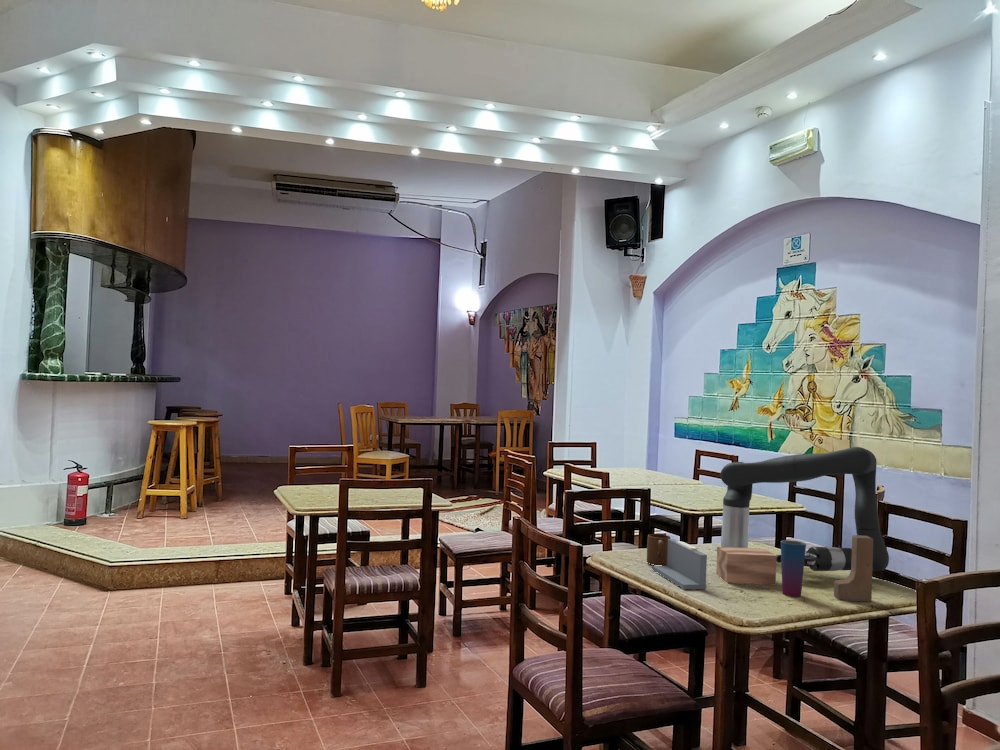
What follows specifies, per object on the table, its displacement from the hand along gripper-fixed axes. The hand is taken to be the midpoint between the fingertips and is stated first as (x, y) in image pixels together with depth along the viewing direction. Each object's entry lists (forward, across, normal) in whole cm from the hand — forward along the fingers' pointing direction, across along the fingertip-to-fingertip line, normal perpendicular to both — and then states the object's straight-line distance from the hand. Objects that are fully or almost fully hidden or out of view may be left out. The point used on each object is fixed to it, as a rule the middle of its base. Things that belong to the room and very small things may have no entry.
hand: (776, 558), depth 227 cm
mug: (+31, -18, +7) cm, 37 cm away
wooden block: (-11, +22, +7) cm, 25 cm away
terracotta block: (+10, 0, +7) cm, 12 cm away
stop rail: (+33, 0, +7) cm, 33 cm away
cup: (+5, +17, +7) cm, 19 cm away
